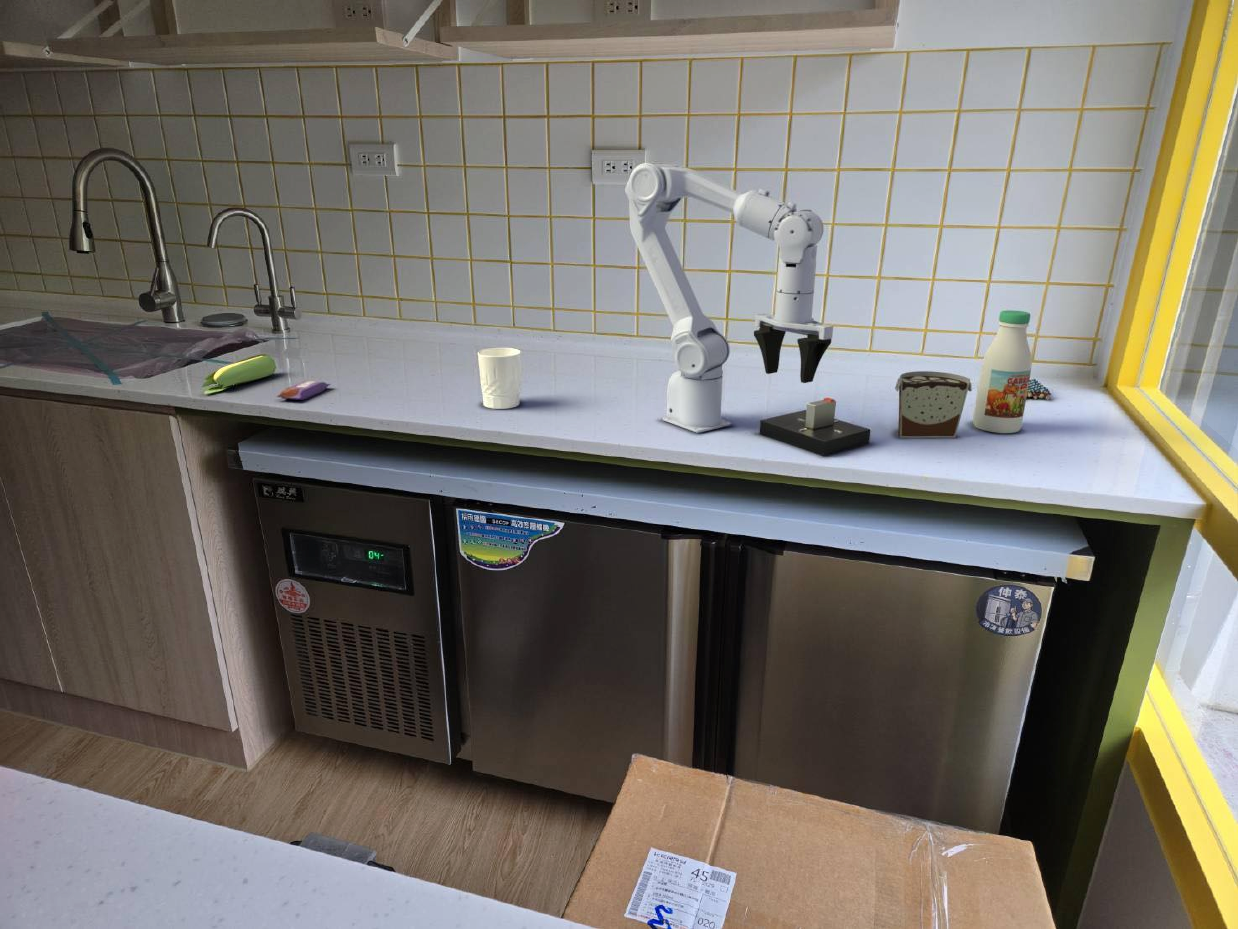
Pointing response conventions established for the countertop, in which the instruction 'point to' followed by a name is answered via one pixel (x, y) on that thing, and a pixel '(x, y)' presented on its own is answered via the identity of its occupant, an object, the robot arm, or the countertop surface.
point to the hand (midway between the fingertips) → (788, 377)
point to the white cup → (500, 377)
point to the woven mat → (1037, 390)
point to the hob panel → (814, 434)
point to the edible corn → (241, 372)
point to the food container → (930, 404)
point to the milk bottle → (1004, 376)
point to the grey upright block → (820, 413)
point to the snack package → (303, 390)
